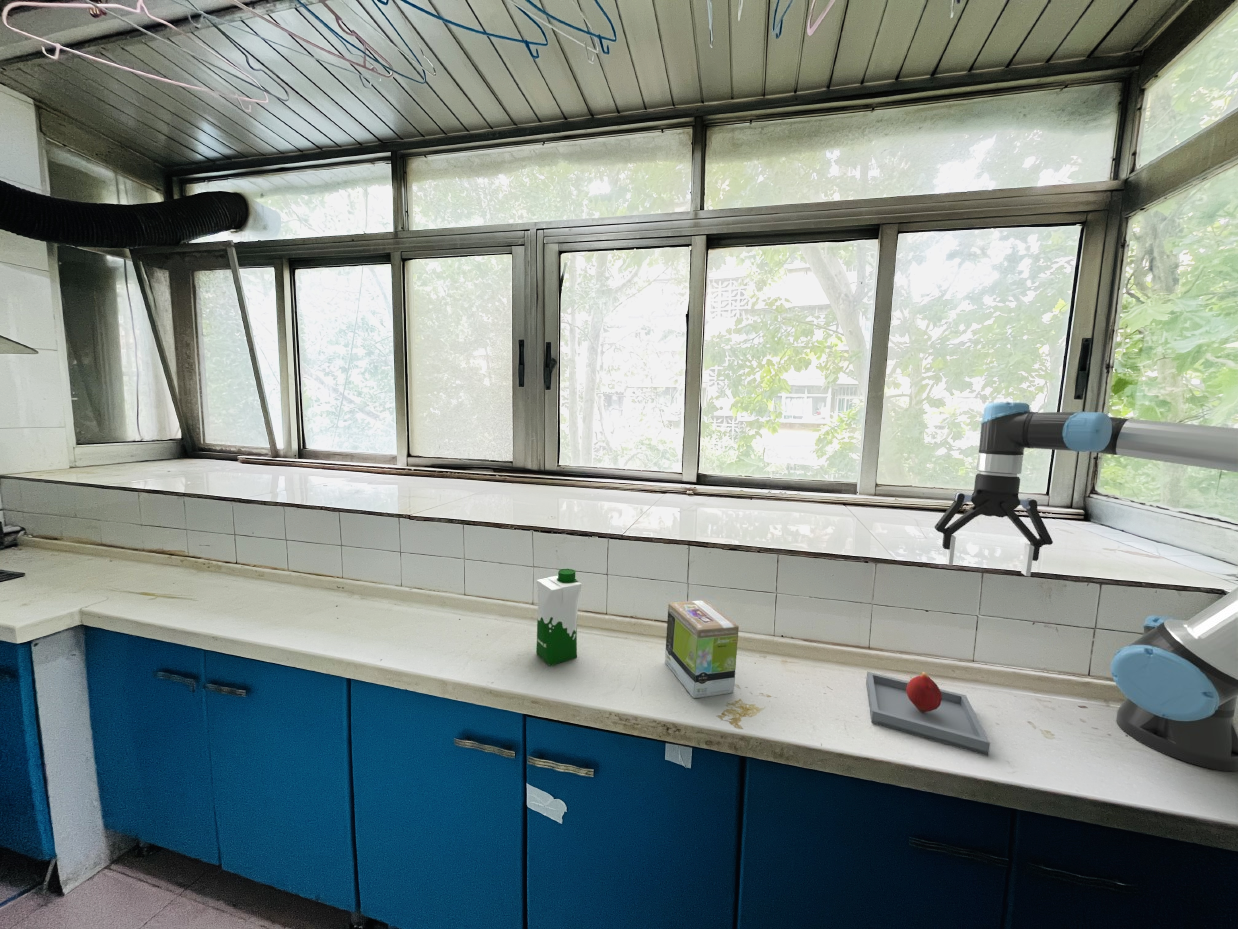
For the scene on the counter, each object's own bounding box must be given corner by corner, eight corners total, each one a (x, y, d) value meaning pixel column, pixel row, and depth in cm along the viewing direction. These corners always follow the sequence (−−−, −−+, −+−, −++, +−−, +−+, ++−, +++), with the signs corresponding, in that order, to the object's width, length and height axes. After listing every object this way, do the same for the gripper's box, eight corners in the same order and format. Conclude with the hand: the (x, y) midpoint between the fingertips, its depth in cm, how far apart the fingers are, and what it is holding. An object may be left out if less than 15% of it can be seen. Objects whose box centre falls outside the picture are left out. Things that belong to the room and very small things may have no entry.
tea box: (735, 693, 95) (740, 625, 94) (692, 700, 92) (697, 630, 90) (701, 657, 109) (705, 597, 108) (663, 662, 106) (666, 601, 105)
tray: (964, 706, 94) (965, 695, 93) (988, 756, 79) (990, 743, 79) (866, 682, 101) (867, 671, 101) (871, 723, 87) (872, 711, 87)
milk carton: (582, 658, 106) (585, 575, 104) (547, 669, 101) (550, 582, 99) (563, 642, 113) (566, 564, 111) (530, 652, 108) (532, 570, 106)
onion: (941, 711, 90) (946, 673, 90) (937, 725, 86) (941, 685, 85) (907, 698, 94) (911, 662, 94) (901, 710, 90) (905, 672, 89)
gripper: (1065, 477, 97) (1052, 574, 99) (926, 468, 107) (917, 555, 109) (1082, 481, 90) (1068, 584, 92) (932, 470, 100) (922, 563, 102)
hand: (986, 569), depth 100 cm, fingers open, 13 cm apart
